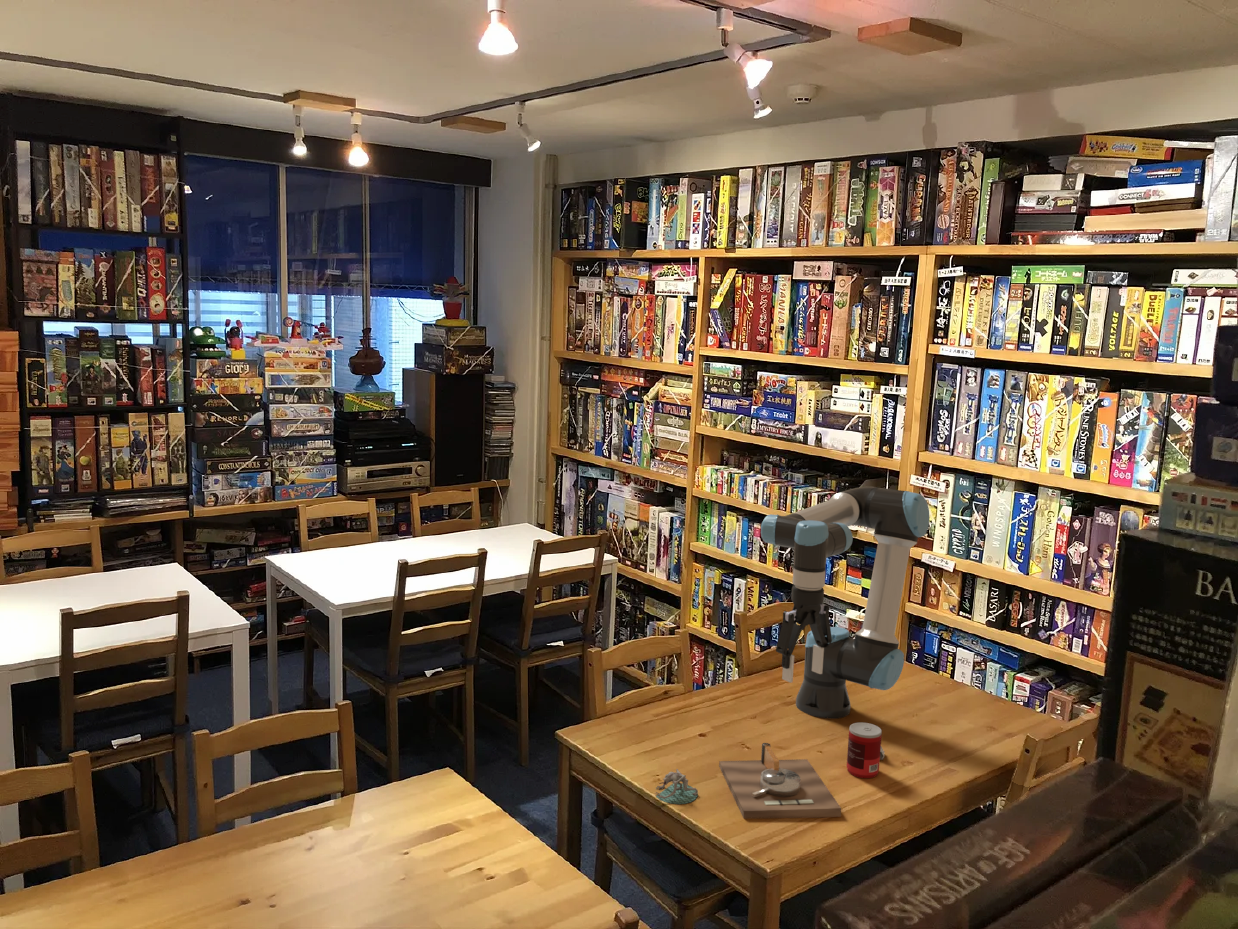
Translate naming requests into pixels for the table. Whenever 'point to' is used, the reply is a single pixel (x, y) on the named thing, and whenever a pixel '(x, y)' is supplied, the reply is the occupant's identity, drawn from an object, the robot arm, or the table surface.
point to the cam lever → (776, 776)
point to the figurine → (677, 790)
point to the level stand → (802, 805)
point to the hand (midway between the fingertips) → (802, 676)
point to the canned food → (864, 750)
